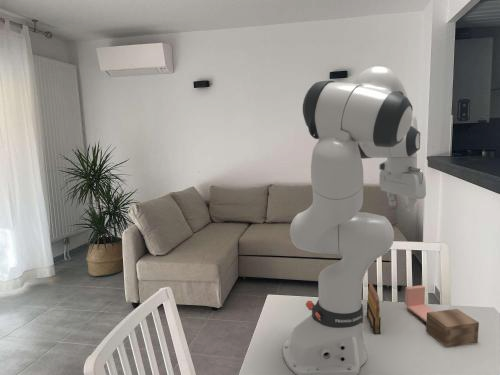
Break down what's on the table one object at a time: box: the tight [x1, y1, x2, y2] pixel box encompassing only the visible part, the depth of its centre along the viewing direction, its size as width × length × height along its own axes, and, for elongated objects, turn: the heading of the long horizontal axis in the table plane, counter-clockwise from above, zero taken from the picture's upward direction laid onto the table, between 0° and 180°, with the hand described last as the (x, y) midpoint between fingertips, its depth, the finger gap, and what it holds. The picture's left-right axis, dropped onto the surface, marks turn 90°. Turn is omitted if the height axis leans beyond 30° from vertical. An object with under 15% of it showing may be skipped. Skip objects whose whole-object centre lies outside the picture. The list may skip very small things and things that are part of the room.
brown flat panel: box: [366, 281, 382, 335], centre depth 107 cm, size 11×2×12 cm, turn 173°
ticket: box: [404, 284, 436, 323], centre depth 109 cm, size 6×14×7 cm, turn 10°
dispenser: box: [425, 308, 480, 348], centre depth 99 cm, size 10×8×6 cm
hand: (400, 208), depth 114 cm, fingers open, 8 cm apart
